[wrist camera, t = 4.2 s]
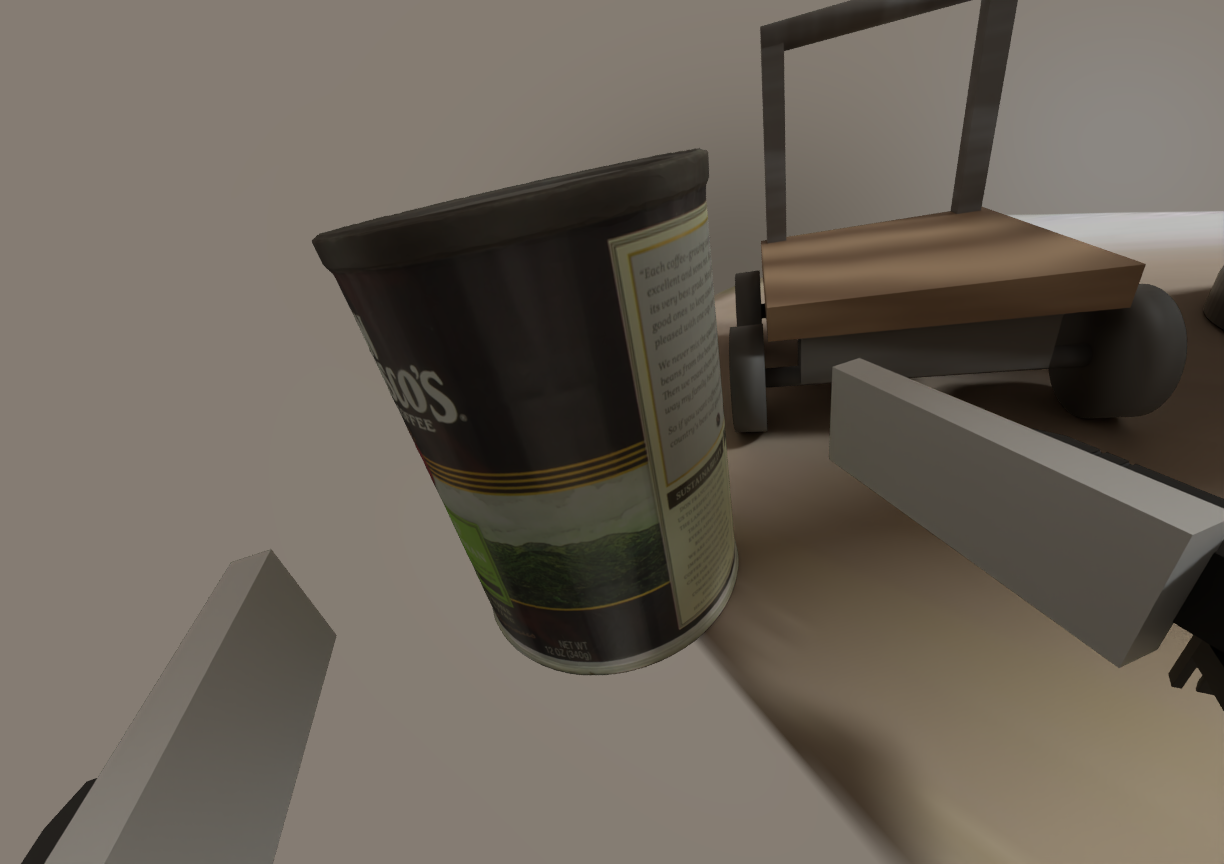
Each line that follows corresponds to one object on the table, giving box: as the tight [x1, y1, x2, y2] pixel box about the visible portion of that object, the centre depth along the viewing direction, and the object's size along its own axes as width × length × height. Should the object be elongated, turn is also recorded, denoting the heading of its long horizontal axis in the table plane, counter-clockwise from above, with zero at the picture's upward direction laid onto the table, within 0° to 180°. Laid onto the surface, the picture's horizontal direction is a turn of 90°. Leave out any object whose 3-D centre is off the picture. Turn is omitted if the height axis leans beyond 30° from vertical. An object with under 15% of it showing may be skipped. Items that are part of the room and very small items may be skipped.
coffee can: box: [312, 148, 738, 675], centre depth 16 cm, size 10×10×14 cm
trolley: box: [729, 0, 1187, 432], centre depth 24 cm, size 17×17×19 cm
